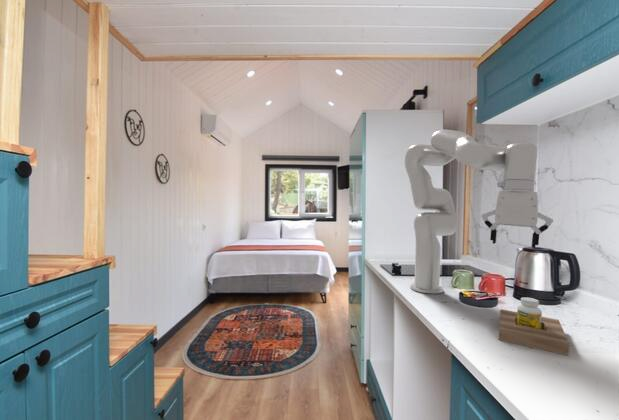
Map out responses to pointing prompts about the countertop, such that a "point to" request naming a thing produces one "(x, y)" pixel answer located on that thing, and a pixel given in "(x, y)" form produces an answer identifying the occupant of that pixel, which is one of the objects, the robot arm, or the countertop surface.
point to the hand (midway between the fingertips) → (513, 245)
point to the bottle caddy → (533, 333)
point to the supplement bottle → (529, 313)
